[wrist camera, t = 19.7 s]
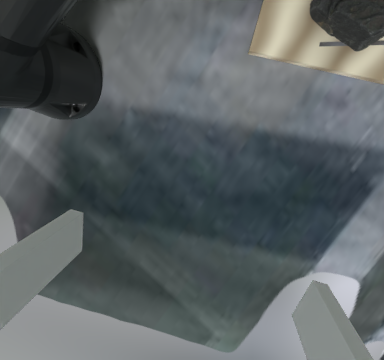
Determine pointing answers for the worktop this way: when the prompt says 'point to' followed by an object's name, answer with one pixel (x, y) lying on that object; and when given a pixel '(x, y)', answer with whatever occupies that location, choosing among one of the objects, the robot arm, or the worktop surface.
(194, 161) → the worktop surface
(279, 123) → the worktop surface
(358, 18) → the rock
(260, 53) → the board
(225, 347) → the worktop surface
